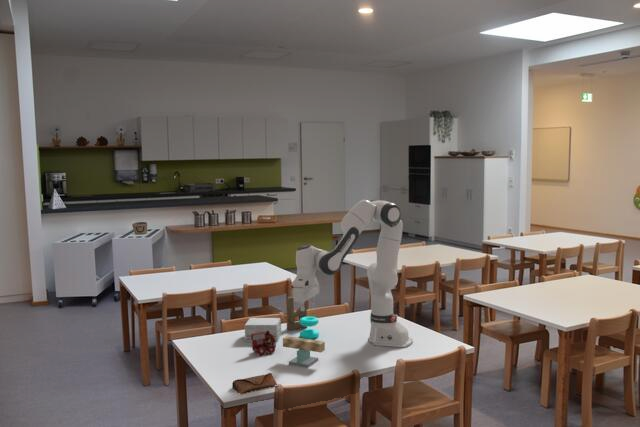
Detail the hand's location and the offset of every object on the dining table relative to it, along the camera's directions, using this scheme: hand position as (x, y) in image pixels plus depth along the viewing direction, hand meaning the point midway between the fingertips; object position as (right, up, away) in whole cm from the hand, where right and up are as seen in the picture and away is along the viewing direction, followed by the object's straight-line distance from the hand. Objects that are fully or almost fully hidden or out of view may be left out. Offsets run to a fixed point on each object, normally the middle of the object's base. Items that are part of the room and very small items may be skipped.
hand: (307, 308), depth 272 cm
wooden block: (-7, -19, +44) cm, 49 cm away
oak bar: (-2, -17, -8) cm, 19 cm away
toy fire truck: (-21, -23, +7) cm, 32 cm away
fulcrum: (-2, -24, -7) cm, 25 cm away
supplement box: (-24, -21, +30) cm, 43 cm away
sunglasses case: (-21, -28, -34) cm, 48 cm away
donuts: (0, -20, +30) cm, 36 cm away
